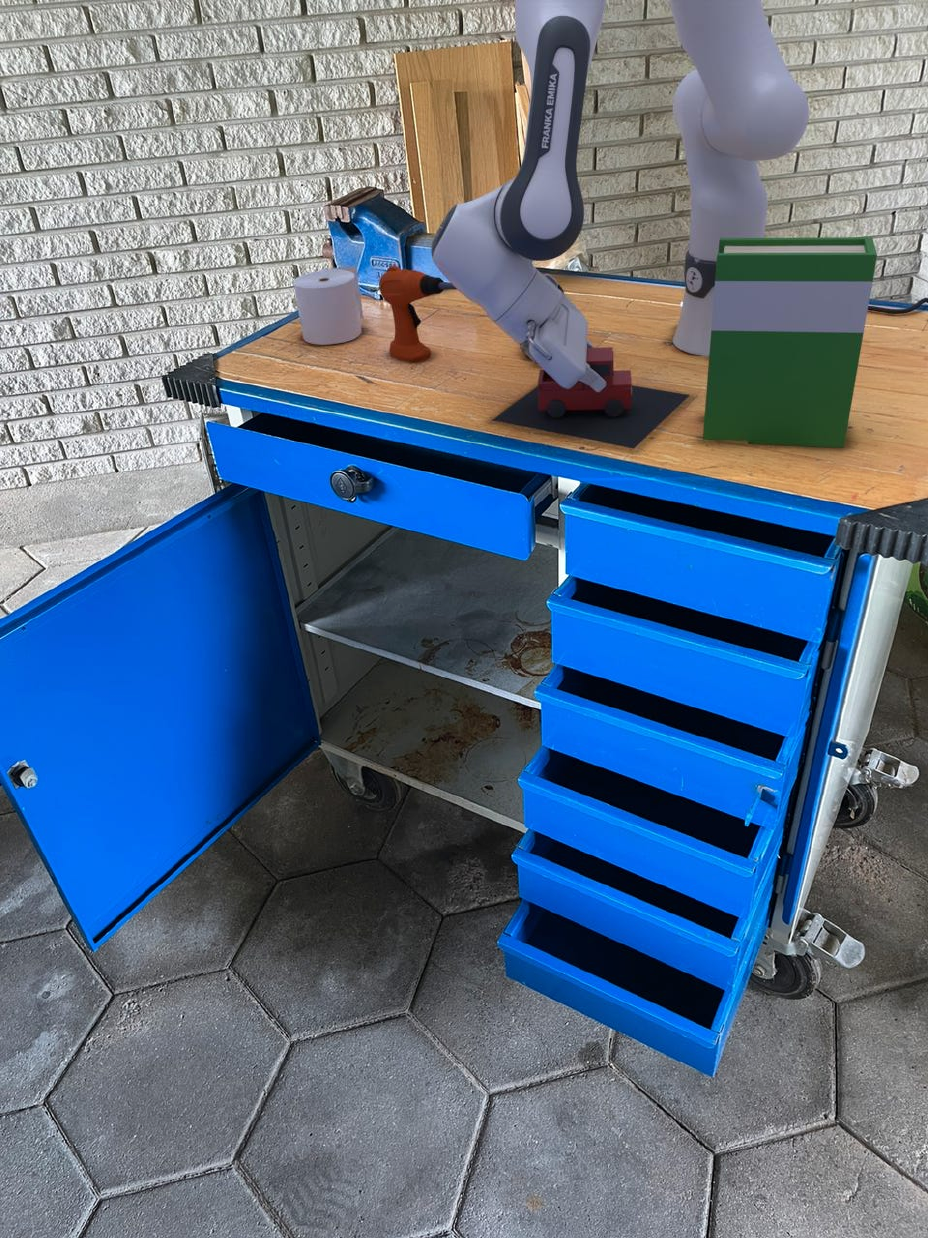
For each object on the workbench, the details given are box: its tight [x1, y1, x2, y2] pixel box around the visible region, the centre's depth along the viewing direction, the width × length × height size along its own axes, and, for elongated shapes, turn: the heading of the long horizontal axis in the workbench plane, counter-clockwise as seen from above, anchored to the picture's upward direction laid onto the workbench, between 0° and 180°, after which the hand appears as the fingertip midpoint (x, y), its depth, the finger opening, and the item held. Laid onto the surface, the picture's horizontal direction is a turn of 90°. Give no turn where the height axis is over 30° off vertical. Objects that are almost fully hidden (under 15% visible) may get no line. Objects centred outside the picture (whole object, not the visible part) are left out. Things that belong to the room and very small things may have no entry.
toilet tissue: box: [292, 265, 364, 346], centre depth 170 cm, size 11×12×10 cm
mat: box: [492, 385, 690, 450], centre depth 138 cm, size 19×22×1 cm
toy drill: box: [378, 265, 458, 363], centre depth 154 cm, size 5×19×15 cm, turn 48°
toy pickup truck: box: [537, 346, 633, 418], centre depth 135 cm, size 13×6×8 cm, turn 83°
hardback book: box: [702, 236, 878, 449], centre depth 121 cm, size 18×7×24 cm, turn 75°
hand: (603, 377), depth 134 cm, fingers closed on toy pickup truck, 5 cm apart
